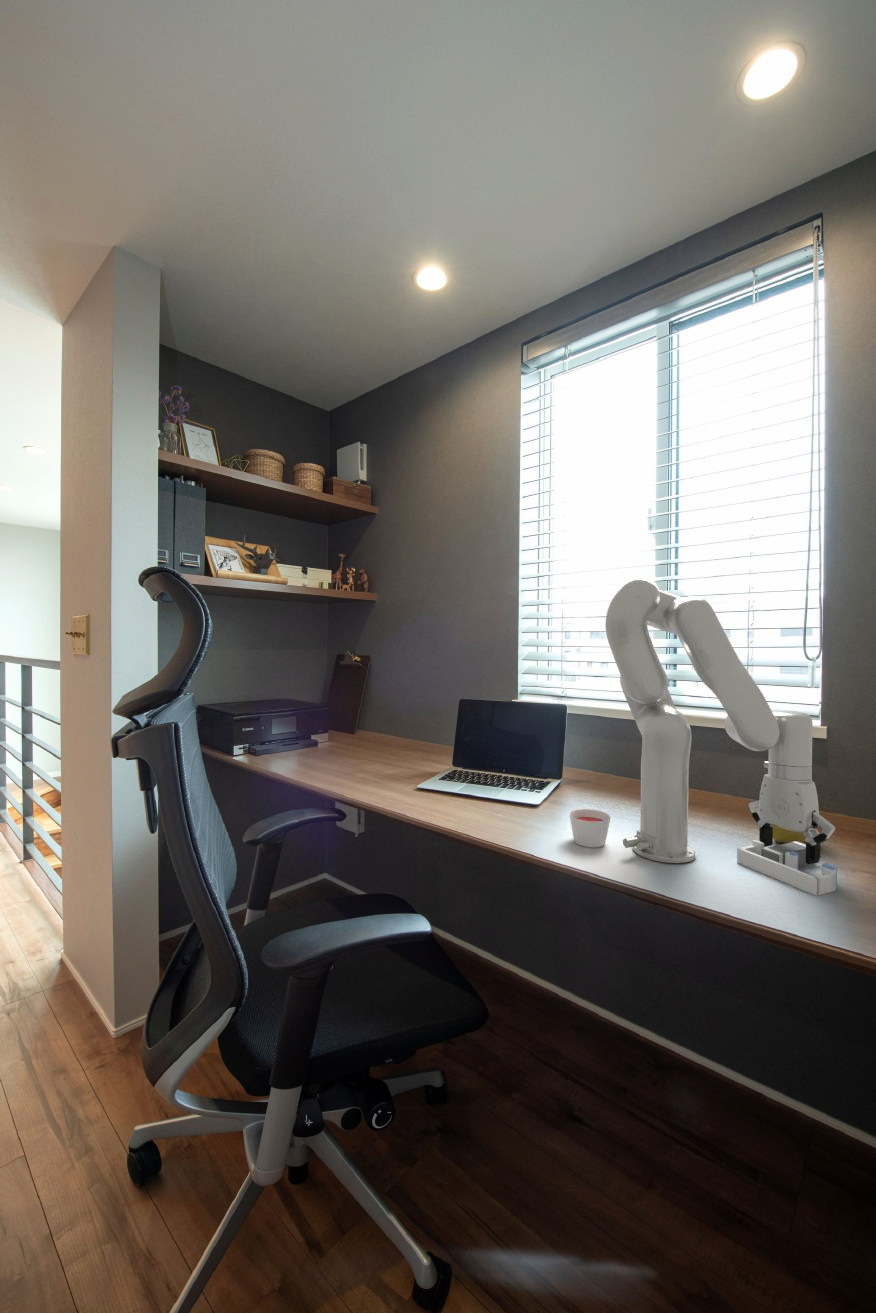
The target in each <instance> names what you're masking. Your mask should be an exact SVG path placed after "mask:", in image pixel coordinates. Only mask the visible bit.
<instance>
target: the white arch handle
mask: <svg viewBox="0 0 876 1313" xmlns="http://www.w3.org/2000/svg"><path fill="white" fill-rule="evenodd" d="M763 848H765V847H764V843H763V842H760V840H757V839H754V840H752V845H747V846H742V847H737V848H736V863H737V864H739V865H742V866H744V867H747V868H749V869H752V870H754V871H756V872H759V873H761V874H764V875H765V876H768V877H771V878H773V879H776V880H778V881H780V882H783V883H785V884H787V885H790V886H792V887H795V888H797V889H799V890H802V891H804V892H807V893H809V894H811V895H813V896H815V897H818V896H822V895H826V894H828V893H832V892H836V891H837V890H838V888H837V886H838V884H837V883H838V866H836V865H833V864H829V863H826V862H825V863H822V864H821V875H817V876H814V875H811V874H809V873H806V872H804V871H801V870H799V867H798V864H799V855H798V853H797V852H786V853H785V865H783V864H781V863H778V862H776V861H773V860H770V859H768V858H765V857H763V856H761V850H762V849H763Z"/></svg>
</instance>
